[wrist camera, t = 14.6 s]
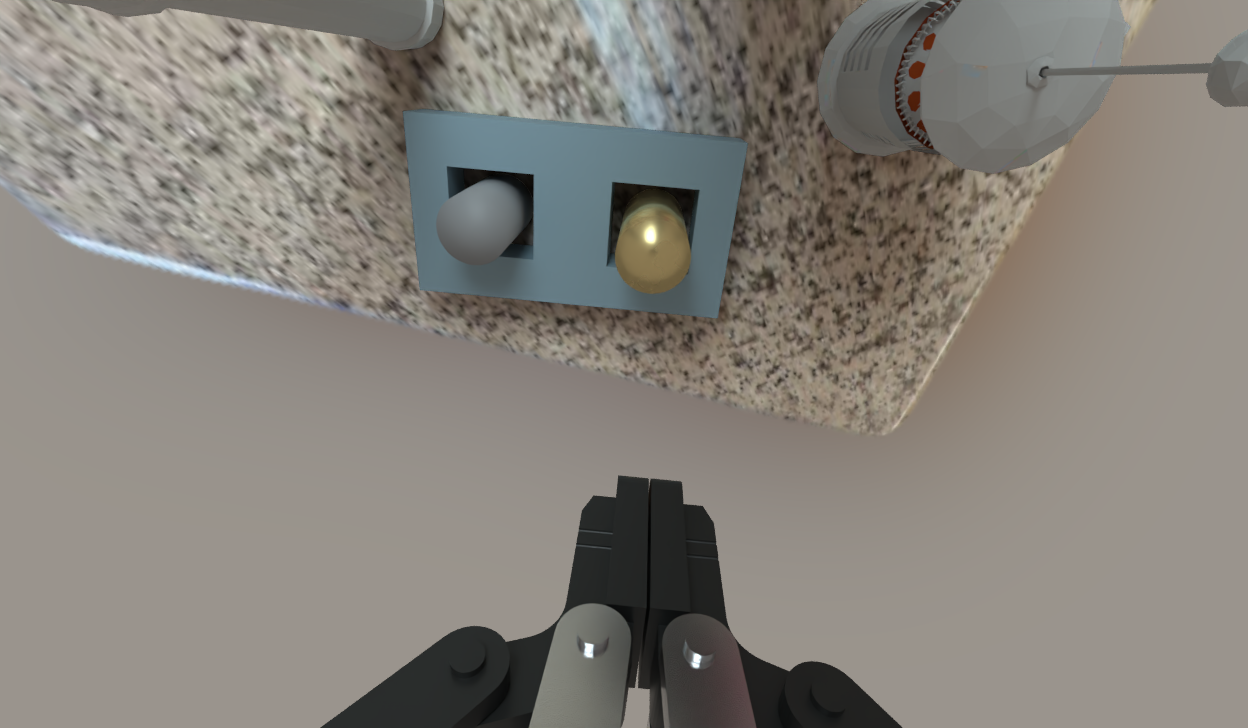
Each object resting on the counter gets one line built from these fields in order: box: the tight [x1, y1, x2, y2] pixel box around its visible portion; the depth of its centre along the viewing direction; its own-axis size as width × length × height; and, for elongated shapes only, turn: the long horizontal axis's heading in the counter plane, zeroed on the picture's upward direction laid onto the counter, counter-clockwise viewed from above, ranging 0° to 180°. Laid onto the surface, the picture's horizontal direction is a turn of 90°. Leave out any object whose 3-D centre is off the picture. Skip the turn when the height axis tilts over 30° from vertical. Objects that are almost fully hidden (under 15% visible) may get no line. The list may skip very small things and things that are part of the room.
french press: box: [817, 0, 1248, 174], centre depth 24 cm, size 10×12×25 cm
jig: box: [403, 109, 748, 318], centre depth 37 cm, size 12×22×8 cm, turn 85°
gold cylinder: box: [615, 189, 691, 294], centre depth 36 cm, size 4×4×10 cm
